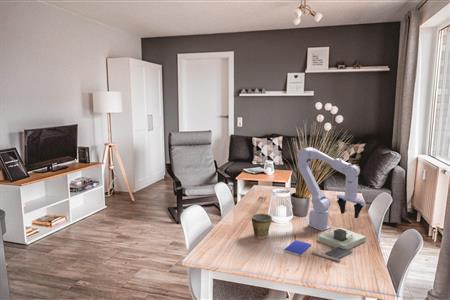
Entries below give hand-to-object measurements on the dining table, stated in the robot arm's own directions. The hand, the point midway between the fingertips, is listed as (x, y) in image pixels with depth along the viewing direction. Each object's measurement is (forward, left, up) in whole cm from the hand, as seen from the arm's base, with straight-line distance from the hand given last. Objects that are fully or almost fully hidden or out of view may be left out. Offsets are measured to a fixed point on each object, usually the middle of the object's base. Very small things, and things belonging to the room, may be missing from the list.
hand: (349, 215), depth 163 cm
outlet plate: (+3, -10, -10) cm, 14 cm away
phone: (+10, -23, -10) cm, 27 cm away
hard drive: (-4, -34, -11) cm, 36 cm away
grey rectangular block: (+4, -13, -10) cm, 17 cm away
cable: (+9, -31, -10) cm, 34 cm away
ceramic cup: (-25, -37, -10) cm, 46 cm away
